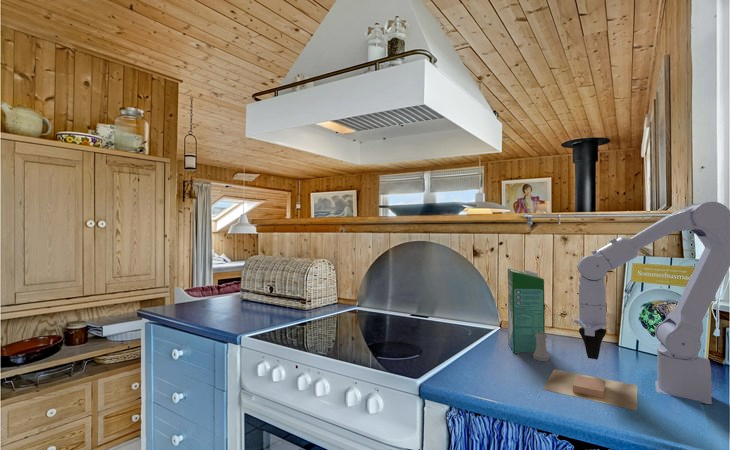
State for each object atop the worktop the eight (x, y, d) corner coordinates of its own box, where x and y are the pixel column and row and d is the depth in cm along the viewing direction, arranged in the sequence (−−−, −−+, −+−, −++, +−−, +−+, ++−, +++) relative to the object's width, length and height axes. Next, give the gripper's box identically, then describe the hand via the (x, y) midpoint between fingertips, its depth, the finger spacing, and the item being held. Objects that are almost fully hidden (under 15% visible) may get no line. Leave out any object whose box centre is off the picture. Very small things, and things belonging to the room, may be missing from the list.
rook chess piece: (529, 358, 110) (529, 331, 110) (541, 357, 112) (540, 329, 112) (541, 364, 106) (541, 335, 106) (553, 362, 108) (553, 333, 108)
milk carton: (545, 354, 114) (544, 271, 114) (513, 353, 115) (512, 271, 116) (537, 345, 122) (536, 268, 123) (508, 344, 124) (507, 267, 124)
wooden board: (637, 387, 90) (637, 385, 90) (637, 413, 78) (637, 410, 78) (554, 371, 101) (554, 369, 101) (542, 391, 88) (542, 389, 88)
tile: (605, 380, 89) (603, 391, 83) (605, 387, 89) (603, 398, 83) (576, 375, 92) (572, 385, 87) (576, 381, 92) (572, 392, 87)
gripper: (577, 297, 103) (578, 347, 103) (569, 306, 91) (570, 363, 91) (608, 300, 99) (609, 352, 99) (604, 310, 87) (605, 369, 87)
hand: (592, 358), depth 95 cm, fingers closed
